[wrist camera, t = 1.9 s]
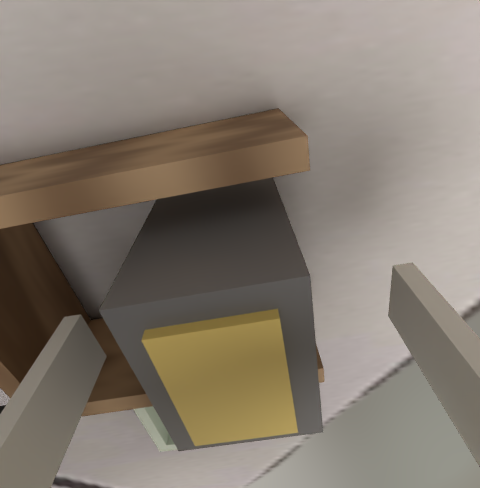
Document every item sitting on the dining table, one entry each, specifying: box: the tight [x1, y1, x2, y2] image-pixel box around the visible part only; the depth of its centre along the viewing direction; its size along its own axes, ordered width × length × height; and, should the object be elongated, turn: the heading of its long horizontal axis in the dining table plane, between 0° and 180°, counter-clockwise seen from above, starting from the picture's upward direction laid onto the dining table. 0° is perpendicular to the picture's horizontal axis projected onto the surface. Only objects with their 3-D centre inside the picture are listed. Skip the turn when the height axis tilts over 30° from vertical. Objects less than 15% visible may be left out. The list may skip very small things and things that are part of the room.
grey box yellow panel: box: [99, 177, 323, 451], centre depth 15 cm, size 6×8×11 cm
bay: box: [0, 109, 324, 416], centre depth 17 cm, size 17×13×7 cm
